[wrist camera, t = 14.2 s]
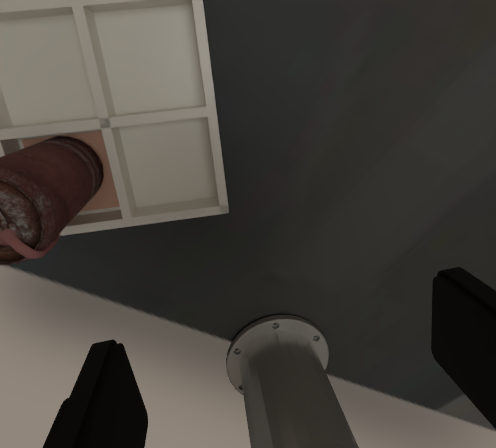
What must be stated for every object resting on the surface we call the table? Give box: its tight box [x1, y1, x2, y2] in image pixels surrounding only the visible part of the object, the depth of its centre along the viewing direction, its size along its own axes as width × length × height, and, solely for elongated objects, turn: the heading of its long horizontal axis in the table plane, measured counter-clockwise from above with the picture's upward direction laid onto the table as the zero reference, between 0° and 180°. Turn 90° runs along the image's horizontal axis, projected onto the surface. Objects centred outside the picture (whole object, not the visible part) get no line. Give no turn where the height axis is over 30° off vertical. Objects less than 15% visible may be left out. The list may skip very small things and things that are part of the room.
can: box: [0, 136, 104, 265], centre depth 27 cm, size 6×6×14 cm
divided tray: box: [0, 0, 229, 236], centre depth 32 cm, size 18×18×4 cm
